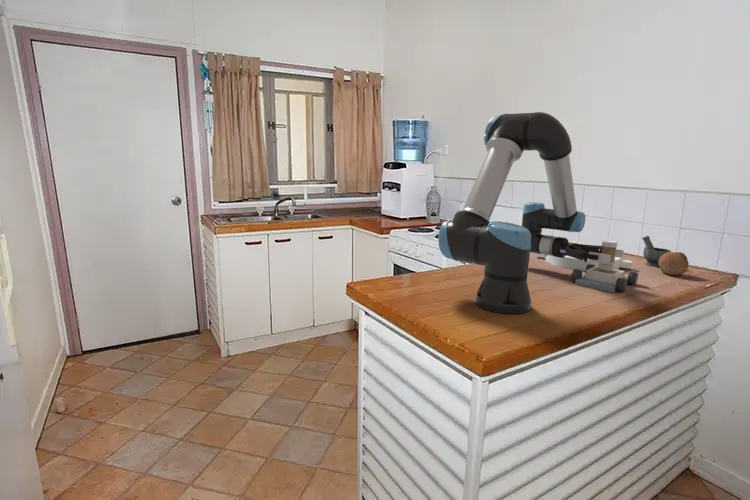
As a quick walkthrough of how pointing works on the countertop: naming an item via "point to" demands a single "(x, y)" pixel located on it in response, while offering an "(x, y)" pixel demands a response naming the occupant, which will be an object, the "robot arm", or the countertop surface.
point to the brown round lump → (673, 263)
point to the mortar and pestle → (652, 252)
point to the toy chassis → (603, 279)
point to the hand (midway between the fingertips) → (616, 256)
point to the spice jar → (608, 249)
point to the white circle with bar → (581, 262)
